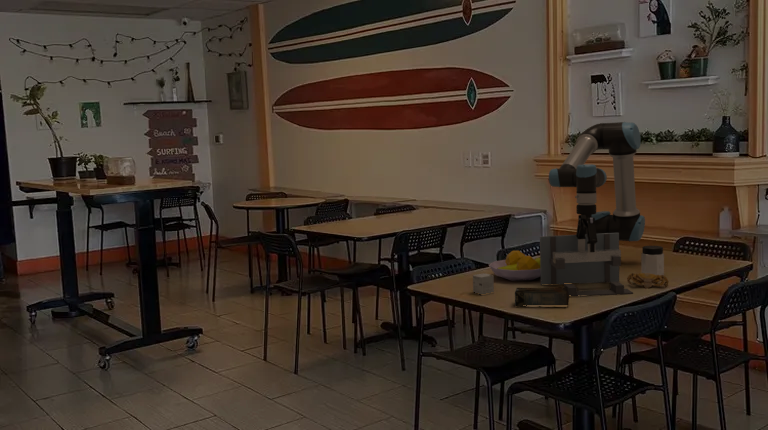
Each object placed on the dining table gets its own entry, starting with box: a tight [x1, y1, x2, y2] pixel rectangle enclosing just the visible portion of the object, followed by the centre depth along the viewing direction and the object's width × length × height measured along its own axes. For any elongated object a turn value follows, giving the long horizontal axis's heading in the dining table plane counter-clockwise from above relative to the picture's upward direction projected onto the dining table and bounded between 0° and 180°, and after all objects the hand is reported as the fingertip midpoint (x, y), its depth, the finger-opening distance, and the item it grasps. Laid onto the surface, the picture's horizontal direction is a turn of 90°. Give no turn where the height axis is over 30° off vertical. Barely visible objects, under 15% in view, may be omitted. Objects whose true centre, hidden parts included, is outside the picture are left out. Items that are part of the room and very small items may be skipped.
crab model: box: [626, 272, 669, 290], centre depth 305 cm, size 16×13×6 cm
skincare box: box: [472, 272, 495, 295], centre depth 304 cm, size 6×6×7 cm
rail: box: [553, 248, 622, 264], centre depth 303 cm, size 4×26×4 cm, turn 91°
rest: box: [563, 281, 634, 296], centre depth 295 cm, size 7×28×4 cm, turn 92°
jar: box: [640, 245, 665, 276], centre depth 322 cm, size 9×8×12 cm
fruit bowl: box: [488, 249, 541, 282], centre depth 329 cm, size 28×27×11 cm
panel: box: [539, 233, 622, 286], centre depth 307 cm, size 14×32×20 cm, turn 91°
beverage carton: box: [514, 286, 570, 306], centre depth 281 cm, size 8×19×7 cm, turn 76°
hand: (586, 258), depth 302 cm, fingers open, 13 cm apart
